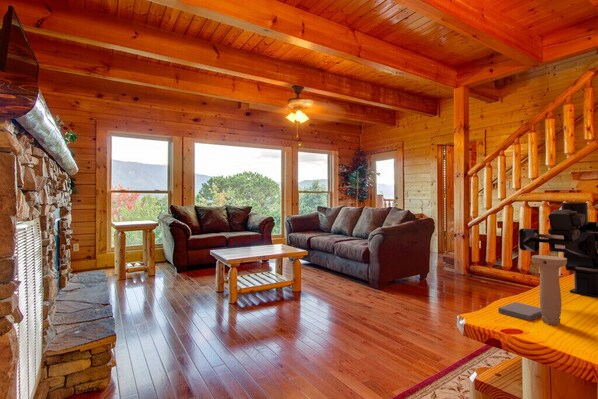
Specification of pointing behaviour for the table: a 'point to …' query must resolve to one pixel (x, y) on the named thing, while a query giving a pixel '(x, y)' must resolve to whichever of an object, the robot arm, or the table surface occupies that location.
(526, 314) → the plate
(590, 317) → the table surface
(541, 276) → the handle
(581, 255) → the robot arm
